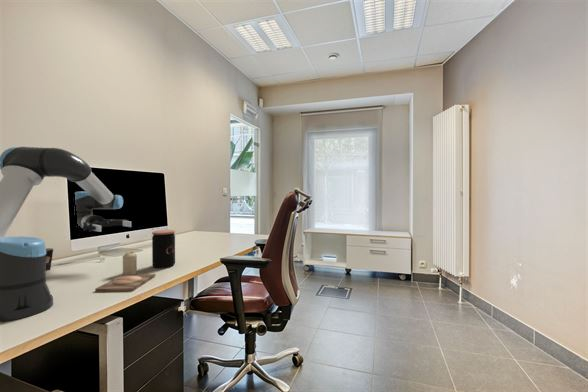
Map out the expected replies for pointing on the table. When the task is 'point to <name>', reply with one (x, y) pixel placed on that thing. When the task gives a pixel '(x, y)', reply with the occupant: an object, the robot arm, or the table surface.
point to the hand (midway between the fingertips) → (116, 226)
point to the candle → (130, 263)
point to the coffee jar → (163, 248)
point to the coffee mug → (49, 258)
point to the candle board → (125, 283)
